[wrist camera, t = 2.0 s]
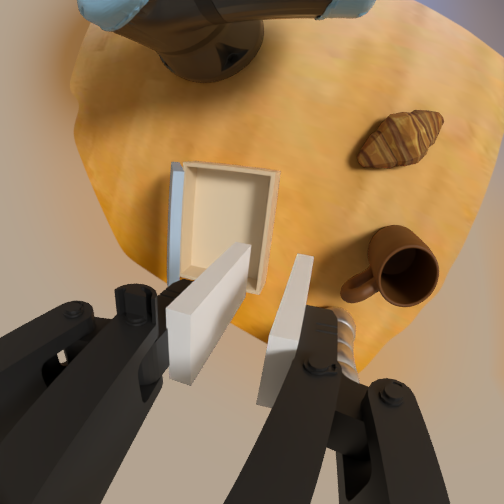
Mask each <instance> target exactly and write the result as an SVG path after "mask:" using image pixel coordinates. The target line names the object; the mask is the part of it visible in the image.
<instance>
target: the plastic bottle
mask: <svg viewBox="0 0 504 504" xmlns="http://www.w3.org/2000/svg"><path fill="white" fill-rule="evenodd" d="M326 309H330V310H332V311H333V312H334V314H335V315H336V317H337V318H338V327H337V328H338V334H337V335H338V356H337V361H338V362H339V364H340V365H341V367H342V373H343V374H344V375H345V376H347V377H348V378H349V379H351V380H353V381H355V382H357V383H359V377H358V373H357V370H356V366H355V362H354V354H353V346H354V340H355V334H356V325H355V322H354V320H353V318H352V316H351V315H350V313H349V312H347V311H346V310H344V309H343V308H339V307H329V308H326Z"/></svg>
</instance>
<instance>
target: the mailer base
mask: <svg viewBox="0 0 504 504" xmlns="http://www.w3.org/2000/svg"><path fill="white" fill-rule="evenodd" d="M183 170H184V184H183V199H182V217H181V239H180V276H179V277H183V278H187V279H192V280H196V279H197V278H198V277H199V276H200V275H201V274H202V273H203V272H204V271H205V270H206V269H207V268H208V267H209V266H210V265H211V264H212V263H214V262H215V261H216V260H217V259H218V258H219V257H220V256H221V255H222V254H223V253H224V252H225V251H226V250H227V249H228V248H229V247H231V246H232V245H233V244H234V243H235V242H240V243H245V244H250V245H251V252H250V261H249V269H248V278H247V286H246V292H249V293H253V294H258V295H260V293H261V291H262V289H263V287H264V285H265V283H266V276H267V269H268V262H269V255H270V248H271V241H272V233H273V226H274V219H275V212H276V204H277V197H278V189H279V182H280V174H281V171H278V170H270V169H263V168H256V167H248V166H240V165H231V164H222V163H212V162H202V161H190V162H183Z"/></svg>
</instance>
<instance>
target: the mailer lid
mask: <svg viewBox="0 0 504 504" xmlns="http://www.w3.org/2000/svg"><path fill="white" fill-rule="evenodd" d="M183 184H184V170H183V168H182V166H181V165H180V163H179V162H171V174H170V190H169V209H168V239H167V286H168V287H169V286H170V285H171V284H172V283H174V282H177V281H179V276H180V239H181V217H182V199H183Z"/></svg>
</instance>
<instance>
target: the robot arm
mask: <svg viewBox="0 0 504 504" xmlns="http://www.w3.org/2000/svg"><path fill="white" fill-rule="evenodd" d="M375 1H376V0H77V3H78V8H79V11H80V13H81V15H82V16H83V17H84V18H85V19H87V20H88V21H90V22H92V23H94V24H96V25H98V26H100V28H101V29H102V30H104V31H109V32H110V31H111V32H114V33H116V34H119V35H121V36H124V37H126V38H129V39H131V40H133V41H135V42H138V43H140V44H142V45H144V46H147V47H149V48H151V49H153V50H155V51H156V52H157V53H158V54H159V56H160V58H161V60H162V62H163V63H164V65H165V66H166V67H167V68H168V69H169V70H170V71H171V72H173V73H174V74H176V75H178V76H180V77H182V78H184V79H187V80H189V81H193V82H200V83H207V82H215V81H219V80H222V79H225V78H228V77H230V76H232V75H234V74H236V73H237V72H239V71H240V70H242V69H243V68H244V67H245V66H246V65H248V64H249V62H250V61H251V60H252V59H253V58H254V57H255V55H256V54H257V52H258V50H259V48H260V46H261V43H262V40H263V35H264V26H263V21H262V20H268V19H291V18H314V19H315V20H323V19H325V18H358V17H361V16H363V15H364V14H366V13H367V12H368V11H369V10H370V9H371V8H372V7H373V5H374V3H375ZM250 252H251V245H250V244H245V243H240V242H235V243H234V244H233V245H232V246H231V247H229V248H228V249H227V250H226V251H225V252H224V253H223V254H222V255H221V256H220V257H219V258H218V259H217V260H216V261H215V262H214V263H212V264H211V265H210V266H209V267H208V268H207V269H206V270H205V271H204V272H203V273H202V274H201V275H200V276H199V277H198V278H197V279H196V280H195V281H190V280H186V279H182V280H179V281H177V282H174V283H172V284H171V285H170V286H169V287H167V288H166V290H164V291H163V292H162V293H160V295H158V296H157V293H156V291H155V290H154V289H153V288H152V287H150V286H147V285H144V284H127V285H123V286H120V287H118V288H117V289H115V299H116V309H117V315H116V316H115V317H114V318H113V319H106V318H99V317H94V312H93V308H92V306H91V305H90V304H89V303H86V302H83V301H71V302H67V303H64V304H62V305H60V306H58V307H56V308H54V309H52V310H51V311H48V312H47V313H45V314H43V315H41V316H39V317H37V318H35V319H33V320H32V321H30V322H28V323H26V324H24V325H22V326H21V327H19V328H17V329H15V330H13V331H12V332H10V333H8V334H6V335H4V336H3V337H1V338H0V504H100V503H101V501H102V500H103V498H104V496H105V494H106V492H107V490H108V488H109V486H110V484H111V482H112V480H113V478H114V476H115V475H116V473H117V471H118V469H119V467H120V465H121V463H122V461H123V459H124V457H125V455H126V454H127V452H128V450H129V448H130V446H131V444H132V442H133V440H134V438H135V437H136V435H137V433H138V431H139V429H140V427H141V425H142V423H143V421H144V420H145V418H146V416H147V414H148V412H149V410H150V409H151V407H152V405H153V403H154V401H155V399H156V397H157V396H158V394H159V392H160V390H161V388H162V384H163V378H162V374H163V373H164V372H165V370H166V369H167V368H168V367H169V378H170V379H172V380H175V381H178V382H181V383H184V384H187V385H190V386H191V385H192V383H193V382H194V380H195V378H196V377H197V375H198V374H199V372H200V370H201V369H202V367H203V365H204V364H205V362H206V360H207V359H208V357H209V356H210V354H211V352H212V351H213V349H214V348H215V346H216V344H217V343H218V341H219V339H220V338H221V336H222V335H223V333H224V331H225V330H226V328H227V326H228V325H229V323H230V321H231V320H232V318H233V316H234V315H235V313H236V312H237V310H238V308H239V307H240V305H241V303H242V302H243V300H244V298H245V294H246V286H247V278H248V269H249V261H250ZM313 260H314V257H313V256H308V255H303V254H298V253H297V256H296V259H295V262H294V265H293V268H292V271H291V274H290V277H289V280H288V283H287V286H286V289H285V292H284V295H283V298H282V300H281V303H280V306H279V309H278V312H277V315H276V318H275V320H274V323H273V326H272V329H271V331H270V334H269V339H268V345H267V351H266V356H265V361H264V366H263V372H262V377H261V382H260V387H259V393H258V398H257V403H256V404H257V405H260V406H265V407H269V408H272V409H271V412H270V414H269V416H268V418H267V420H266V422H265V424H264V426H263V428H262V431H261V433H260V435H259V437H258V439H257V441H256V443H255V445H254V447H253V449H252V451H251V453H250V455H249V457H248V459H247V461H246V463H245V465H244V467H243V468H242V471H241V472H240V474H239V476H238V478H237V480H236V482H235V484H234V485H233V487H232V489H231V491H230V493H229V495H228V496H227V498H226V500H225V502H224V503H223V504H310V502H311V499H312V496H313V493H314V489H315V486H316V483H317V480H318V476H319V472H320V469H321V466H322V462H323V458H324V454H325V451H326V447H327V448H330V449H332V450H334V451H336V460H337V475H338V492H339V504H450V501H449V498H448V494H447V490H446V487H445V483H444V480H443V477H442V473H441V470H440V466H439V464H438V460H437V457H436V454H435V451H434V448H433V445H432V442H431V440H430V436H429V433H428V430H427V428H426V425H425V422H424V419H423V417H422V414H421V411H420V409H419V406H418V404H417V401H416V398H415V396H414V394H413V393H412V391H411V389H410V388H409V387H407V386H406V385H405V384H404V383H401V382H399V381H397V380H394V379H388V378H386V379H378V380H376V381H374V382H372V383H371V385H370V386H369V387H367V386H365V385H362V384H360V383H357V382H355V381H353V380H351V379H349V378H348V377H347V376H345V375H344V374H343V373H342V367H341V365H340V364H339V362H338V361H337V356H338V335H337V334H338V328H337V327H338V318H337V317H336V315H335V314H334V312H333V311H332V310H330V309H325V308H319V307H314V306H309V305H306V301H307V296H308V290H309V284H310V278H311V272H312V266H313ZM62 350H64V353H65V356H66V360H67V361H66V362H64V363H60V362H59V359H58V356H57V353H59V352H60V351H62Z"/></svg>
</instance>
